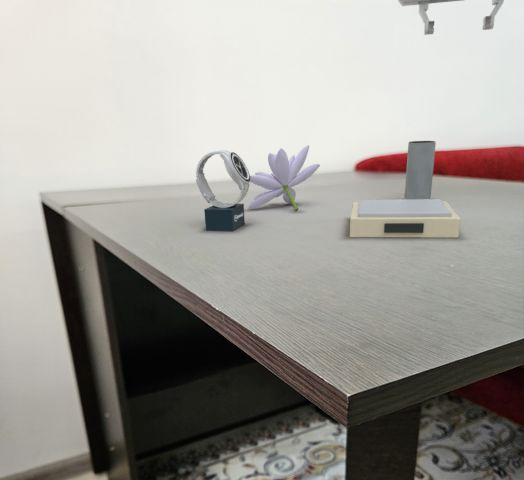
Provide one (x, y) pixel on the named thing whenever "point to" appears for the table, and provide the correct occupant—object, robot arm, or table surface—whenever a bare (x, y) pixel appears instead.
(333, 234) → the table surface
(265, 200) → the water lily
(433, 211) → the scale
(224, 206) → the watch
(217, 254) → the table surface
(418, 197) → the grey tall cylinder
